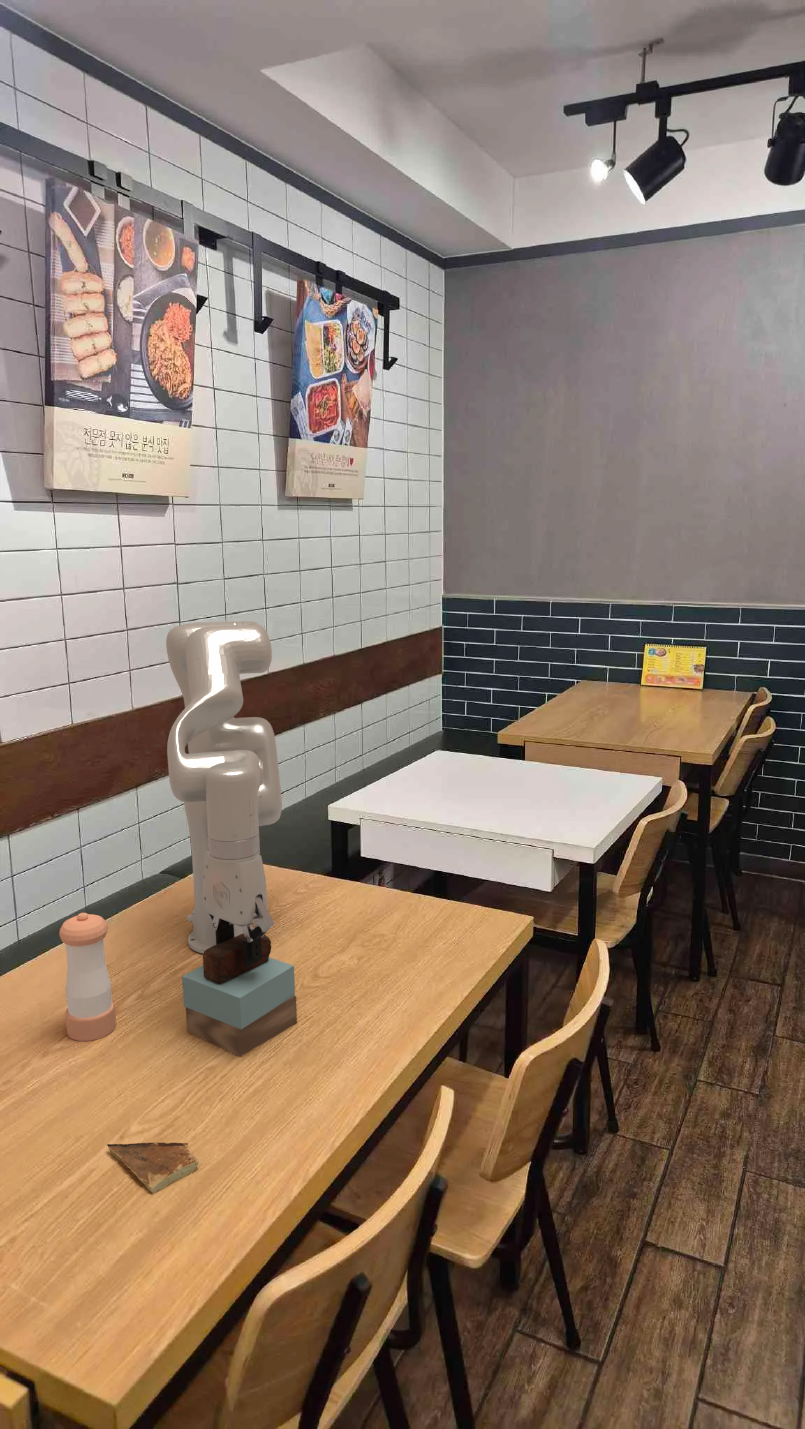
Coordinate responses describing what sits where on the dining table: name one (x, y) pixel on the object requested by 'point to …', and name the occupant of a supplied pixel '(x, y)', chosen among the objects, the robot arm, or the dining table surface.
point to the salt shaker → (87, 979)
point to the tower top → (240, 993)
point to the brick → (230, 959)
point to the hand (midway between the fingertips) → (239, 955)
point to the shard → (156, 1162)
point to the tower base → (248, 1036)
